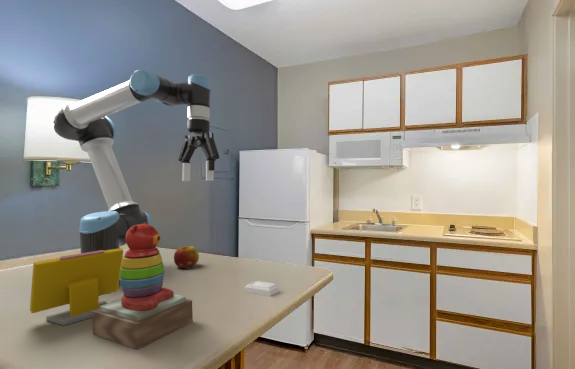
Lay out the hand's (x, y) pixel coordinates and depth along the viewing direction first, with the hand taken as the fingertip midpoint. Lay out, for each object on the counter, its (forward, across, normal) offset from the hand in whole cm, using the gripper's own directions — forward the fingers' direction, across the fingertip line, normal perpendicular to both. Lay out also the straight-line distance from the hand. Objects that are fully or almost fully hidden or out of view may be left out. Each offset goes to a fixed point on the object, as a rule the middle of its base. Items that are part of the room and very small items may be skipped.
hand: (197, 180), depth 118 cm
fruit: (+34, +16, -7) cm, 38 cm away
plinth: (+35, -24, +31) cm, 53 cm away
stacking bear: (+29, -25, +31) cm, 49 cm away
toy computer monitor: (+36, -4, +37) cm, 51 cm away
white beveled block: (+34, -29, -3) cm, 44 cm away
